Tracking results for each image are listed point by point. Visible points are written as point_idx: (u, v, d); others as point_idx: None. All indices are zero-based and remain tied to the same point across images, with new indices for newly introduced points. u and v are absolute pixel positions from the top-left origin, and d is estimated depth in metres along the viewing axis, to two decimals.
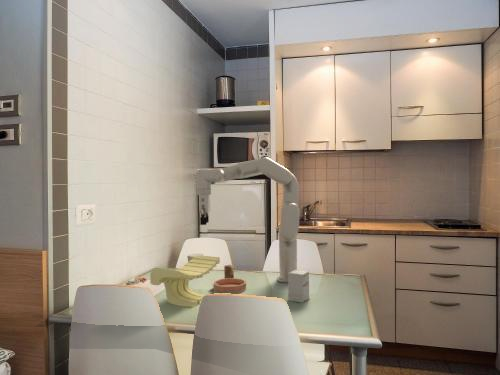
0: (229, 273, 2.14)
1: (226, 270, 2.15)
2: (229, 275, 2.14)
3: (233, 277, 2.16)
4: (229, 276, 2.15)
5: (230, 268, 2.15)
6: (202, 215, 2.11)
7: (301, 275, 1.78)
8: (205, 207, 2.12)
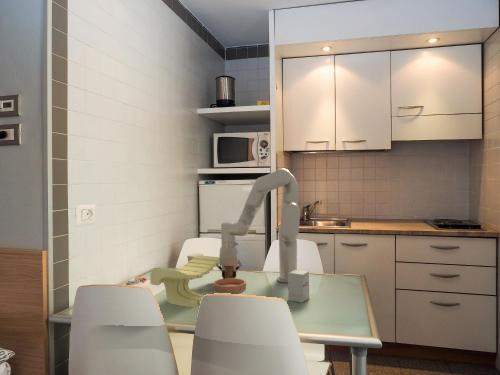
0: (229, 273, 2.14)
1: (226, 270, 2.15)
2: (229, 275, 2.14)
3: None
4: (229, 276, 2.15)
5: (230, 268, 2.15)
6: None
7: (301, 275, 1.78)
8: None
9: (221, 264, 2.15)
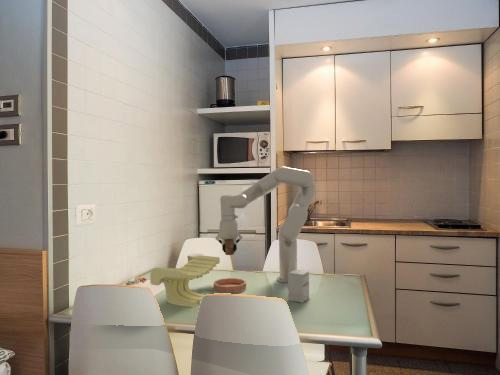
0: (229, 246, 2.14)
1: (226, 243, 2.14)
2: (229, 248, 2.14)
3: (233, 250, 2.16)
4: (230, 249, 2.14)
5: (230, 241, 2.14)
6: (238, 241, 2.16)
7: (301, 275, 1.78)
8: None
9: (221, 237, 2.14)
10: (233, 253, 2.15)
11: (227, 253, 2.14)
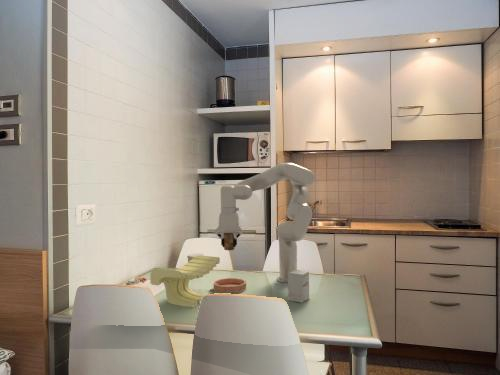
0: (229, 241, 1.98)
1: (226, 237, 1.98)
2: (229, 243, 1.98)
3: (233, 245, 2.00)
4: (229, 244, 1.98)
5: (230, 235, 1.98)
6: (238, 236, 2.00)
7: (301, 275, 1.78)
8: None
9: (220, 231, 1.99)
10: (233, 248, 1.99)
11: (226, 248, 1.98)
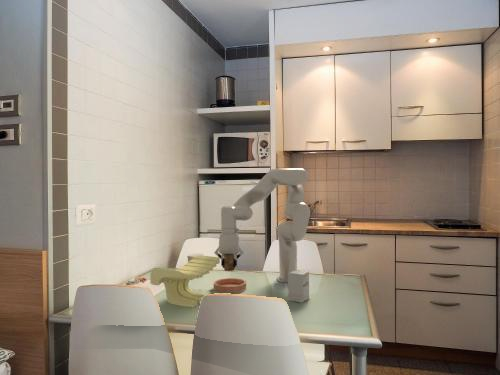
0: (229, 261, 1.98)
1: (226, 258, 1.98)
2: (229, 263, 1.98)
3: (233, 266, 2.00)
4: (229, 265, 1.98)
5: (230, 256, 1.98)
6: (238, 257, 2.00)
7: (301, 275, 1.78)
8: None
9: (221, 251, 1.98)
10: (233, 269, 1.99)
11: (226, 269, 1.98)
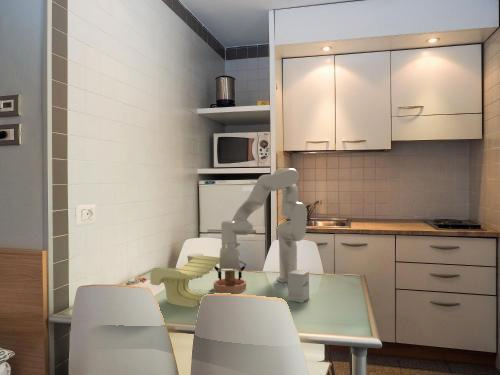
0: (230, 279, 1.98)
1: (227, 275, 1.99)
2: (230, 281, 1.98)
3: (234, 283, 2.00)
4: (230, 282, 1.98)
5: (231, 273, 1.99)
6: (243, 269, 2.00)
7: (301, 275, 1.78)
8: None
9: (221, 266, 1.99)
10: None
11: None
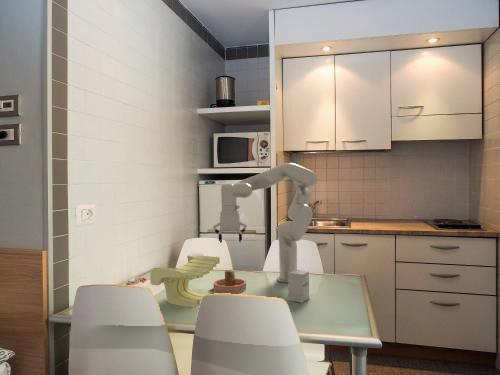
0: (229, 279, 1.98)
1: (227, 276, 1.99)
2: (230, 281, 1.98)
3: (234, 283, 2.00)
4: (230, 282, 1.98)
5: (231, 273, 1.98)
6: (243, 231, 2.03)
7: (301, 275, 1.78)
8: None
9: (222, 229, 2.02)
10: None
11: None
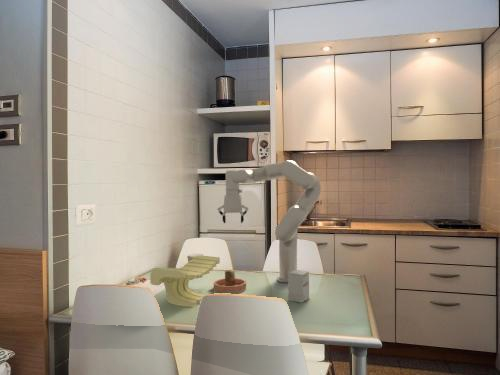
0: (229, 279, 1.98)
1: (227, 275, 1.99)
2: (230, 281, 1.98)
3: (234, 283, 2.00)
4: (230, 282, 1.98)
5: (231, 273, 1.99)
6: (245, 213, 2.24)
7: (301, 275, 1.78)
8: None
9: (225, 210, 2.23)
10: None
11: None
